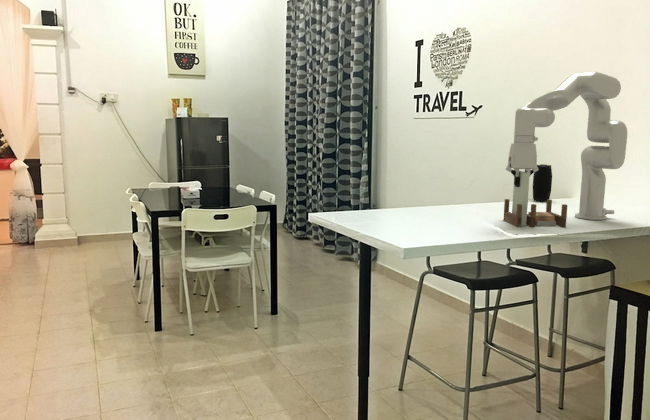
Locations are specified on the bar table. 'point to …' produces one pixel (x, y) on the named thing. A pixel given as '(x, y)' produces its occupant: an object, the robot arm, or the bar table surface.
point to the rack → (533, 214)
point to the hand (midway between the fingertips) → (521, 186)
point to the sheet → (521, 196)
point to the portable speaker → (542, 183)
